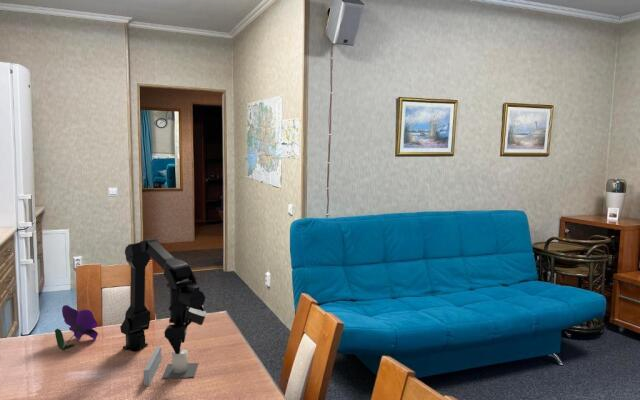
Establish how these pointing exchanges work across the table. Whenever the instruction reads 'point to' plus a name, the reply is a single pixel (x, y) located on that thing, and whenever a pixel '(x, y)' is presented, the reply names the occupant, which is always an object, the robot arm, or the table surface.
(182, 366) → the cream rounded cone
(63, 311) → the flower
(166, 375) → the mat
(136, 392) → the table surface
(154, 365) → the wall
